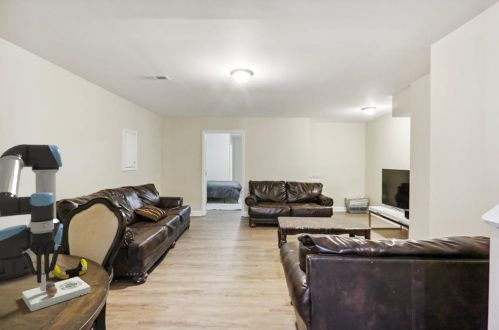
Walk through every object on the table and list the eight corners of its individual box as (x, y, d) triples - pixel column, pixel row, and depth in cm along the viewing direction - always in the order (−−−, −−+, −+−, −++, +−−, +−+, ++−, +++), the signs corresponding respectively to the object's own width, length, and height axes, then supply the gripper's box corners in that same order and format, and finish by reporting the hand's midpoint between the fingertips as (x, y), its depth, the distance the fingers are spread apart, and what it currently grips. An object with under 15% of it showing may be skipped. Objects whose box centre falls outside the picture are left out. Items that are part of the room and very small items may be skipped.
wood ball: (45, 296, 109) (45, 287, 109) (55, 293, 111) (55, 284, 111) (47, 298, 107) (47, 289, 107) (58, 295, 109) (58, 286, 109)
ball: (46, 281, 114) (55, 281, 116) (42, 289, 113) (52, 290, 115) (48, 283, 111) (57, 284, 113) (44, 292, 110) (54, 292, 113)
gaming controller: (50, 276, 134) (55, 282, 128) (50, 265, 134) (55, 270, 128) (85, 268, 145) (91, 273, 138) (85, 257, 145) (91, 262, 138)
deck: (22, 297, 113) (22, 291, 113) (77, 282, 128) (77, 276, 128) (31, 311, 102) (31, 304, 102) (90, 292, 117) (90, 286, 117)
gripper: (23, 235, 104) (24, 298, 104) (64, 229, 114) (64, 287, 114) (20, 232, 109) (20, 292, 109) (59, 227, 119) (59, 282, 119)
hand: (43, 290), depth 111 cm, fingers closed
